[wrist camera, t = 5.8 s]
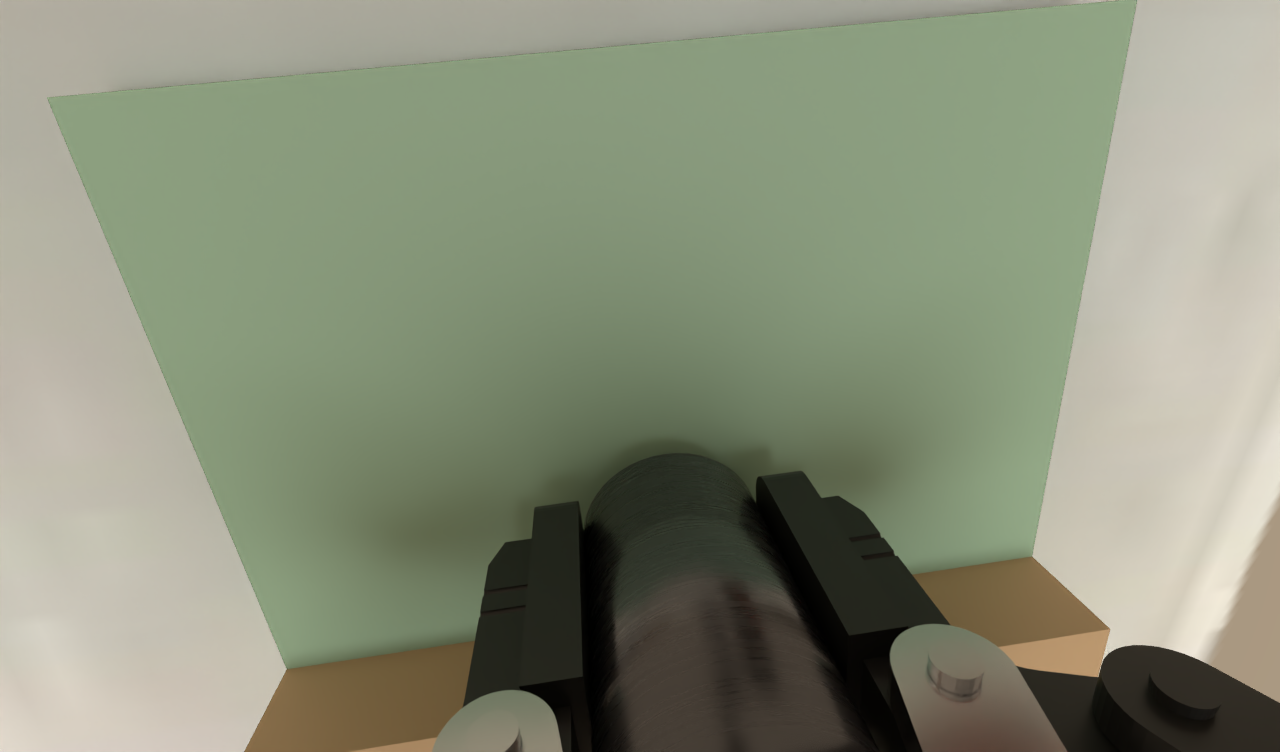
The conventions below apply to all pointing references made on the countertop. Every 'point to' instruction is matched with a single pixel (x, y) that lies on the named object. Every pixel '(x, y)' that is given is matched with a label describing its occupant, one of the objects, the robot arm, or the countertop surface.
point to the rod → (702, 623)
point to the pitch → (612, 313)
